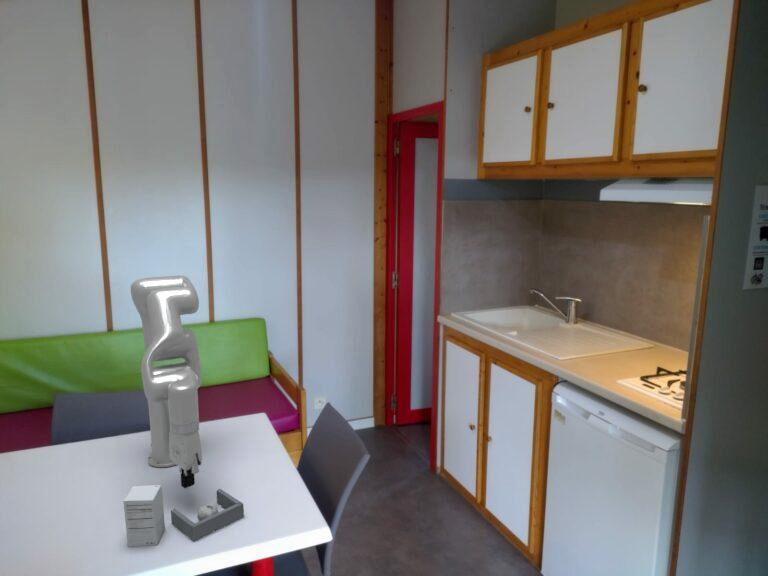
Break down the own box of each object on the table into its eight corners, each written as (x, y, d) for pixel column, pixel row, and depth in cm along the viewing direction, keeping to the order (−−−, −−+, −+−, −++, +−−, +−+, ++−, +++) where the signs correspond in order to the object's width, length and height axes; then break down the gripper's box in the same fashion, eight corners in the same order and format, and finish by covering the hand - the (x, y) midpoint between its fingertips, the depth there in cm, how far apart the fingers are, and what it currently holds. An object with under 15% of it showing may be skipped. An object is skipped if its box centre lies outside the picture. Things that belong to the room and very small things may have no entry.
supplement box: (136, 530, 151) (132, 485, 149) (165, 528, 152) (162, 484, 149) (126, 547, 144) (122, 500, 142) (157, 545, 144) (153, 499, 142)
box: (171, 524, 154) (170, 510, 153) (220, 501, 164) (220, 488, 164) (193, 541, 146) (192, 527, 145) (243, 517, 157) (243, 503, 156)
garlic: (223, 522, 155) (222, 504, 154) (204, 530, 151) (203, 512, 150) (212, 513, 159) (211, 495, 158) (193, 521, 155) (192, 503, 154)
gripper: (158, 420, 160) (162, 480, 164) (185, 439, 150) (189, 502, 154) (183, 412, 165) (186, 470, 169) (211, 429, 155) (214, 490, 159)
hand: (188, 485), depth 162 cm, fingers closed
